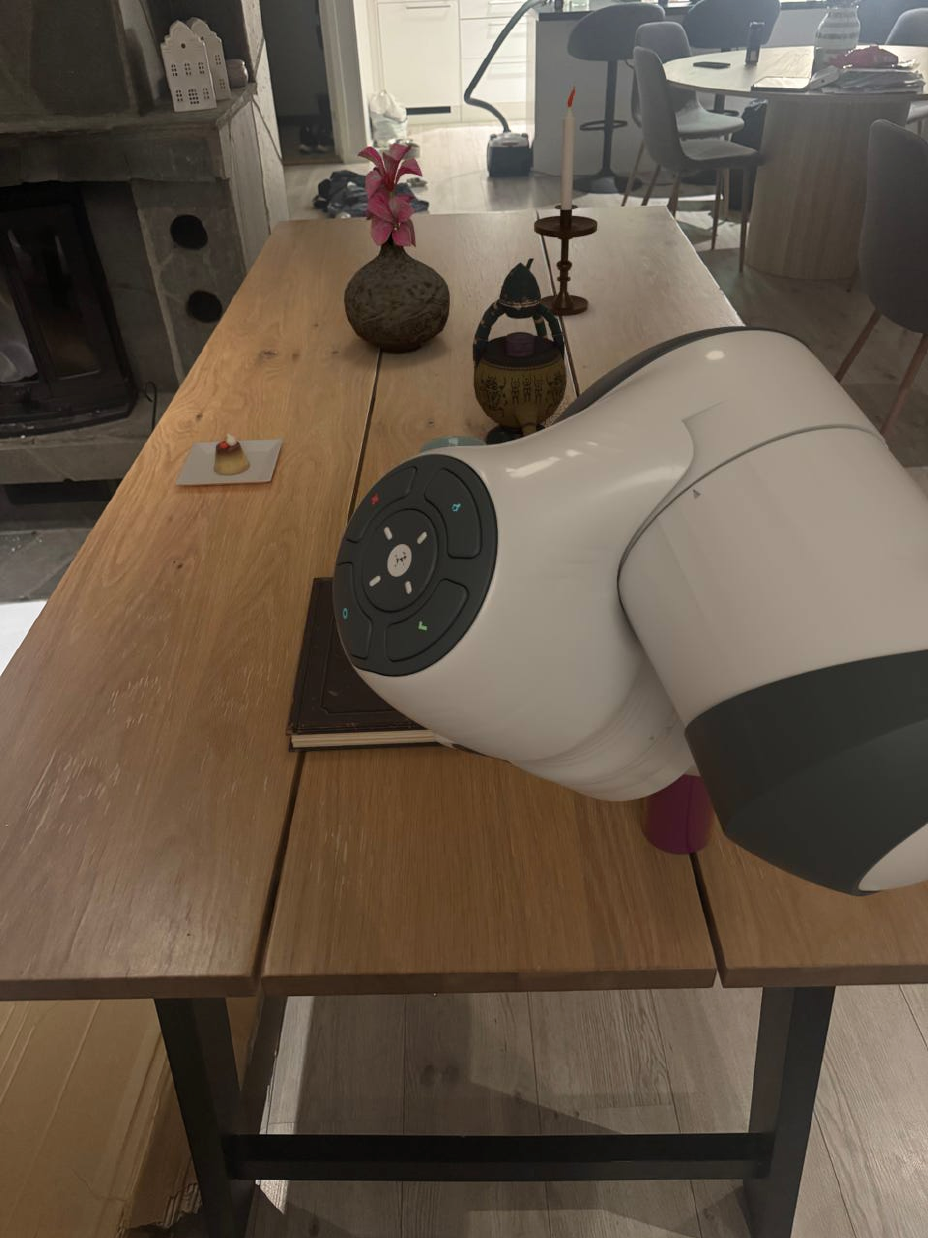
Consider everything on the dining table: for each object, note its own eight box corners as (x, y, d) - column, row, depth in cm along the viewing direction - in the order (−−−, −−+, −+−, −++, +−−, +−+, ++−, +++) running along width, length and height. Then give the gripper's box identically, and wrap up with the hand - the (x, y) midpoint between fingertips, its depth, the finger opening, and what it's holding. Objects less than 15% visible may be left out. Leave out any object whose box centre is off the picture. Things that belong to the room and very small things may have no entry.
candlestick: (604, 304, 168) (617, 83, 147) (571, 321, 161) (580, 92, 141) (555, 294, 174) (561, 79, 153) (520, 310, 167) (522, 87, 146)
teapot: (551, 410, 132) (556, 239, 118) (589, 494, 112) (600, 300, 98) (467, 416, 131) (462, 245, 117) (490, 502, 111) (487, 308, 97)
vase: (367, 372, 145) (347, 163, 128) (336, 337, 159) (313, 143, 141) (466, 354, 150) (460, 150, 133) (427, 321, 163) (417, 132, 146)
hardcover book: (289, 752, 78) (285, 732, 77) (316, 595, 96) (313, 577, 95) (478, 745, 78) (478, 724, 77) (469, 589, 96) (469, 571, 95)
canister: (720, 814, 71) (746, 686, 63) (701, 866, 67) (726, 736, 60) (652, 792, 73) (669, 665, 65) (630, 841, 69) (645, 712, 62)
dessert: (175, 492, 116) (167, 457, 113) (195, 449, 125) (188, 416, 122) (271, 488, 116) (265, 453, 113) (284, 445, 125) (279, 412, 122)
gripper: (871, 639, 35) (915, 722, 46) (433, 614, 47) (553, 686, 58) (852, 804, 34) (902, 849, 45) (405, 737, 45) (533, 786, 56)
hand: (703, 757), depth 51 cm, fingers open, 8 cm apart
